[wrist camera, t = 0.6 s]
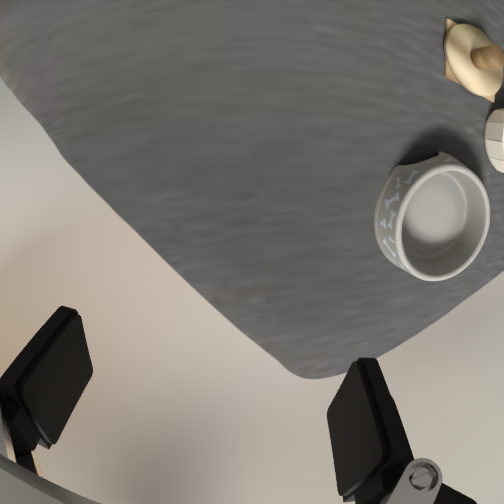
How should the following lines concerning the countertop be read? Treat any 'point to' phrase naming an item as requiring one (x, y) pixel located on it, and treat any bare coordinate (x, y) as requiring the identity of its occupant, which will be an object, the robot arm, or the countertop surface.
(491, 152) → the bowl
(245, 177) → the countertop surface
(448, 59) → the lid
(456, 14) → the countertop surface
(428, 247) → the dog bowl
